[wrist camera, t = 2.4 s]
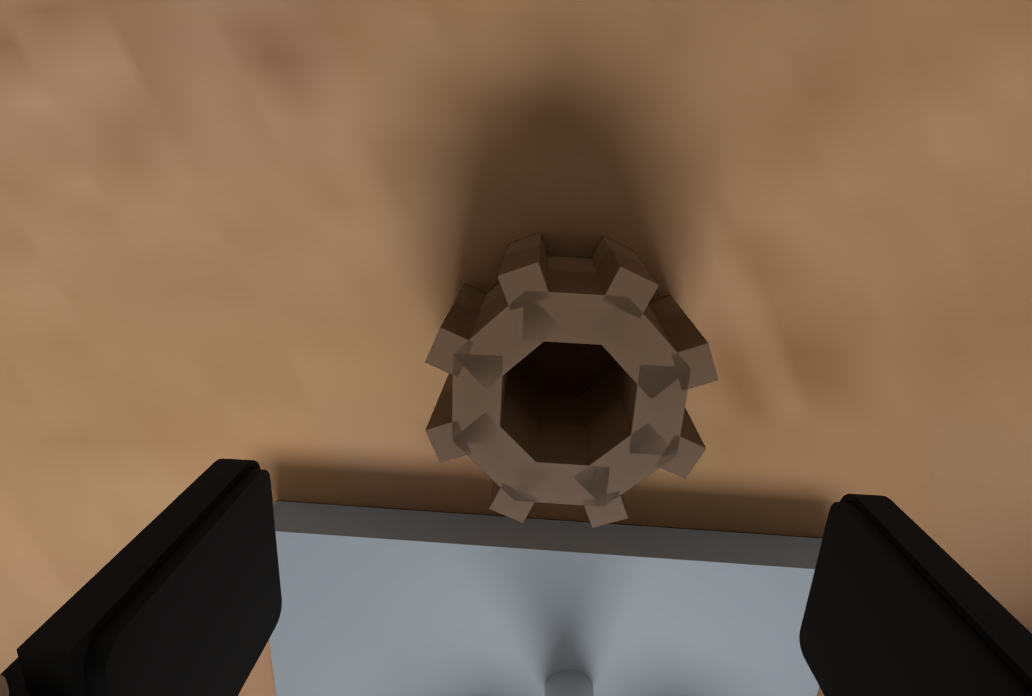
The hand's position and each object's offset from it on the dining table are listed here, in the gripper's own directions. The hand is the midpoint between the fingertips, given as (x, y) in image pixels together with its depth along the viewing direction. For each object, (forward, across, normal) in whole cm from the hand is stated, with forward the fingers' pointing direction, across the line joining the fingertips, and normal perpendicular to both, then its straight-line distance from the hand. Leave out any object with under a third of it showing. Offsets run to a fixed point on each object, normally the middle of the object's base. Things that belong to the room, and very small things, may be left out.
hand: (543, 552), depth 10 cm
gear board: (+8, -1, +14) cm, 17 cm away
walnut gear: (+8, -1, -1) cm, 8 cm away
